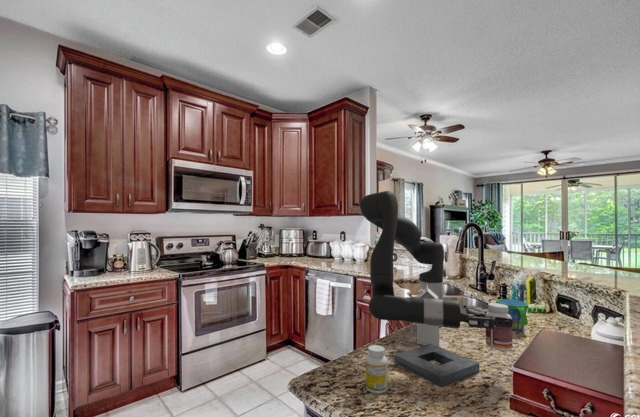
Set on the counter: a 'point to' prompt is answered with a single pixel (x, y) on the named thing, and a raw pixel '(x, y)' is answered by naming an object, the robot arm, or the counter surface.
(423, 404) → the counter surface
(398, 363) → the holder block
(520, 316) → the snack cup
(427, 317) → the robot arm
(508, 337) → the pill bottle
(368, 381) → the supplement bottle
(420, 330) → the milk carton
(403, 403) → the counter surface
